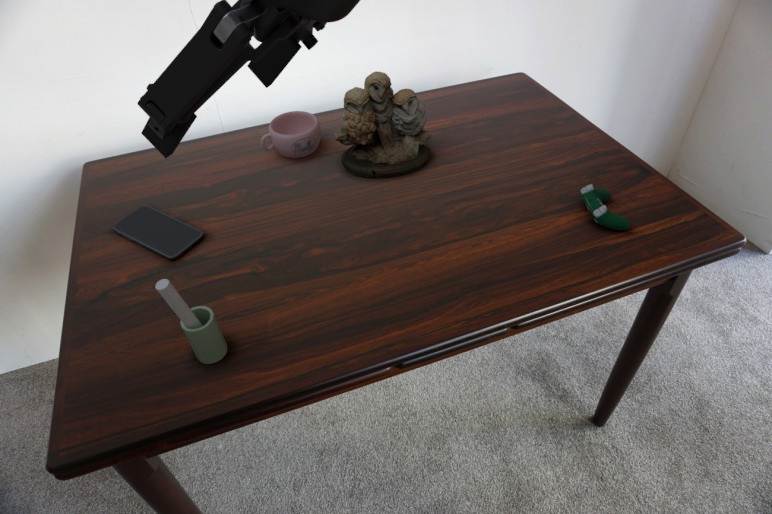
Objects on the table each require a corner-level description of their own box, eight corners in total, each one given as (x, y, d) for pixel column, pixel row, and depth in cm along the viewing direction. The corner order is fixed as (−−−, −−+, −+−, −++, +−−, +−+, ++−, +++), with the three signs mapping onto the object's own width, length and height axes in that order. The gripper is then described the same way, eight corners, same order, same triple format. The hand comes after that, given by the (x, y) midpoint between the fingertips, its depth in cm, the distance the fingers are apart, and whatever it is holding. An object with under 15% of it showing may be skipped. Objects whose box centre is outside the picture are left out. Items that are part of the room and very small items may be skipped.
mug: (312, 131, 108) (308, 105, 104) (331, 154, 102) (327, 127, 97) (257, 147, 104) (250, 121, 100) (272, 172, 98) (266, 145, 94)
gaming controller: (591, 206, 90) (572, 189, 87) (610, 192, 88) (591, 174, 85) (613, 242, 84) (593, 225, 81) (634, 227, 82) (614, 209, 79)
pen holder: (202, 369, 67) (185, 336, 62) (193, 347, 70) (176, 314, 65) (231, 355, 69) (217, 322, 64) (221, 334, 71) (207, 301, 66)
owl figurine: (342, 186, 94) (332, 98, 82) (332, 151, 102) (321, 67, 90) (438, 170, 97) (441, 82, 85) (421, 137, 105) (421, 53, 93)
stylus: (208, 356, 68) (157, 292, 58) (204, 348, 69) (153, 283, 59) (219, 350, 69) (170, 284, 58) (215, 341, 70) (167, 276, 59)
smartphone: (171, 259, 81) (108, 227, 87) (173, 263, 82) (111, 231, 87) (206, 231, 85) (144, 202, 91) (207, 236, 86) (146, 207, 92)
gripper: (245, 64, 25) (139, 216, 41) (453, -67, 40) (316, 81, 56) (123, -74, 23) (62, 142, 39) (390, -156, 38) (267, 23, 54)
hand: (212, 106), depth 48 cm, fingers open, 13 cm apart
